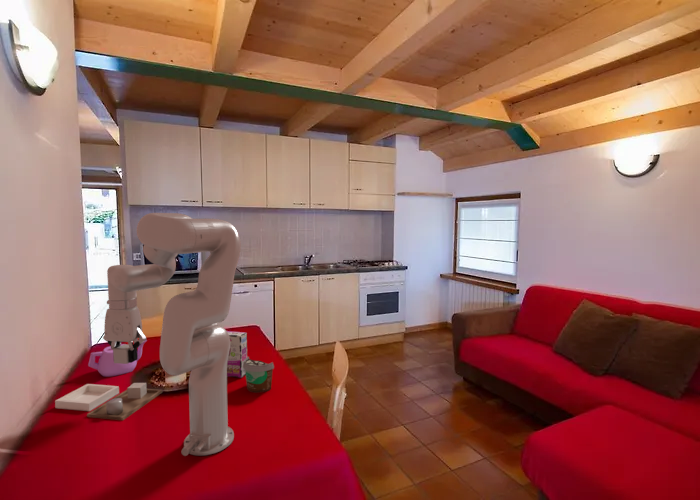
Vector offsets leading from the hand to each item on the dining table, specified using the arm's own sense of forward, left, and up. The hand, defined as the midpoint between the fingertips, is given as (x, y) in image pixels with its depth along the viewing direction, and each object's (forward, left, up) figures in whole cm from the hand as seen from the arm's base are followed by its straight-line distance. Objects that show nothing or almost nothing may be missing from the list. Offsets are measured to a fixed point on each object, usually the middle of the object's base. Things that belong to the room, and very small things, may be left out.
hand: (125, 360), depth 117 cm
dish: (0, +14, -15) cm, 21 cm away
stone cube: (0, 0, 0) cm, 0 cm away
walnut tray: (0, 0, -15) cm, 15 cm away
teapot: (+24, +23, -15) cm, 37 cm away
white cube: (+5, +1, -14) cm, 15 cm away
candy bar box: (+28, -22, -15) cm, 39 cm away
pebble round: (-6, 0, -14) cm, 15 cm away
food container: (+17, -36, -15) cm, 42 cm away
